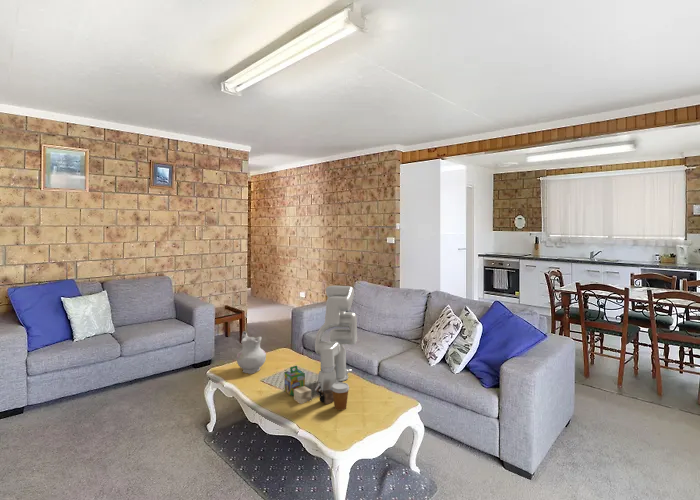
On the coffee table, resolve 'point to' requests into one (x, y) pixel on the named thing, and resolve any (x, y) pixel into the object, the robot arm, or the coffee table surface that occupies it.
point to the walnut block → (328, 396)
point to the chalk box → (294, 380)
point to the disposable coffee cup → (340, 395)
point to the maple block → (302, 394)
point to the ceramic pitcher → (251, 354)
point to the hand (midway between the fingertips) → (327, 399)
